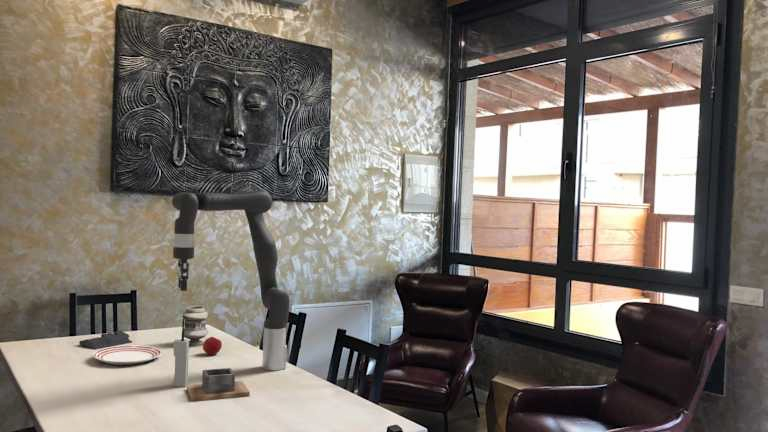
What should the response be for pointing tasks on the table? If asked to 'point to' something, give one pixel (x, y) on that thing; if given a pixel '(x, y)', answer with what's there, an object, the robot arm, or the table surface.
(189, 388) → the phone dock
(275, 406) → the table surface
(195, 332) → the apothecary jar
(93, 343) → the dark slate chunk
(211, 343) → the apple
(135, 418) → the table surface
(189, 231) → the robot arm
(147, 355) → the dinner plate
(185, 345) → the vintage mobile phone
